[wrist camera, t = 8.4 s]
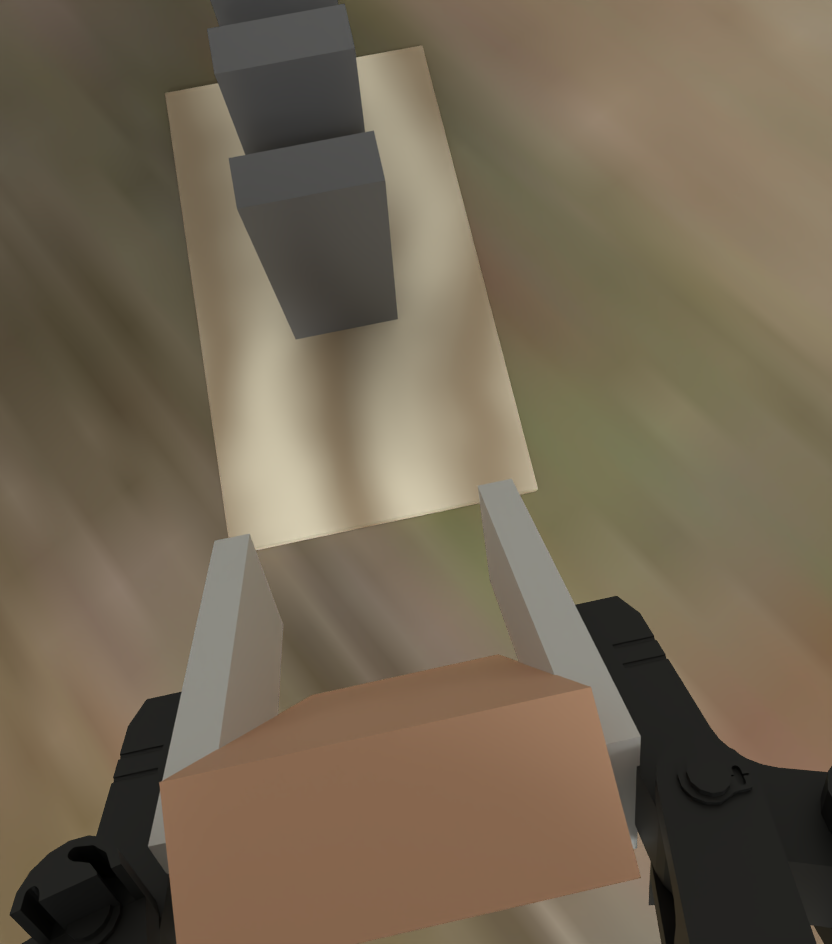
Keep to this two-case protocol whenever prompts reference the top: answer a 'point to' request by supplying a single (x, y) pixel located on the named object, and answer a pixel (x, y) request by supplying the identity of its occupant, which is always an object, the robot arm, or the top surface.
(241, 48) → the grey rectangular slab
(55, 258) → the top surface
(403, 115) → the birch board
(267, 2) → the dark grey block
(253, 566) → the robot arm
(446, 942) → the top surface
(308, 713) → the salmon orange block
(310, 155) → the dark grey block
